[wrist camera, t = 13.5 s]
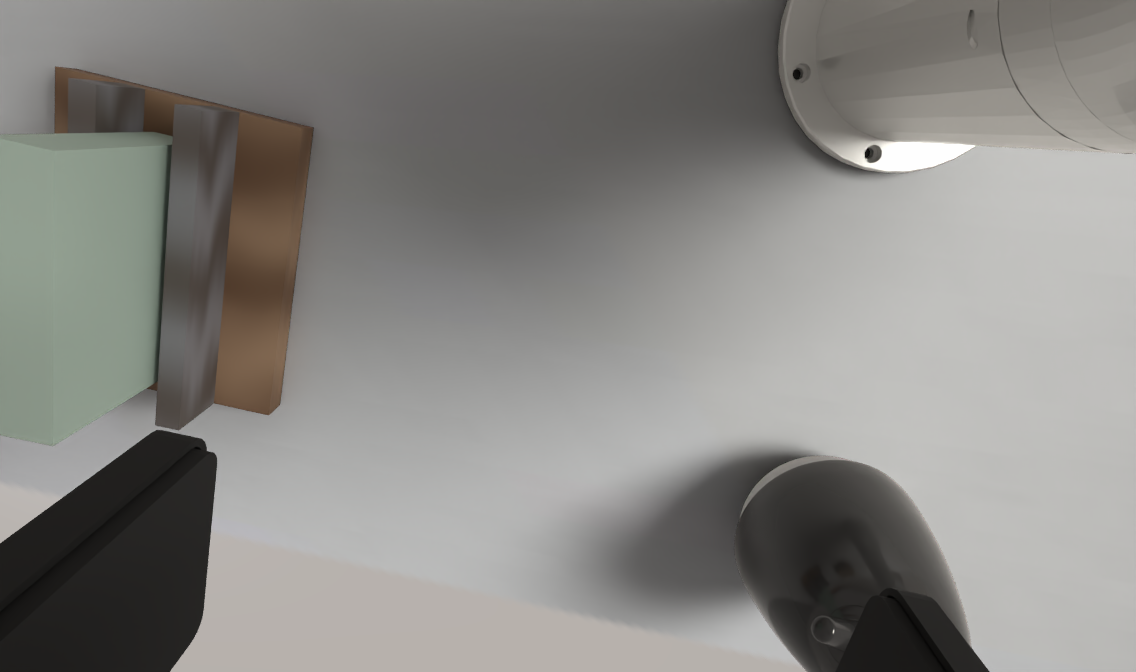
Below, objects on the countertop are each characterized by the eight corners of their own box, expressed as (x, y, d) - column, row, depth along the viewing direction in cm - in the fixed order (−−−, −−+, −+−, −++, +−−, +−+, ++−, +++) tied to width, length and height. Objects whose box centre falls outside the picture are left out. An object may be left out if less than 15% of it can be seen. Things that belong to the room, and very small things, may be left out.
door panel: (153, 131, 33) (-16, 134, 24) (201, 143, 33) (53, 150, 24) (143, 353, 37) (-8, 433, 27) (187, 363, 37) (52, 446, 27)
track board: (76, 69, 34) (-5, 60, 29) (313, 127, 35) (272, 128, 30) (71, 358, 39) (0, 391, 34) (279, 404, 39) (239, 443, 35)
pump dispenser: (794, 396, 39) (925, 557, 24) (922, 490, 41) (1115, 692, 26) (683, 519, 41) (742, 730, 27) (809, 602, 43) (927, 843, 29)
